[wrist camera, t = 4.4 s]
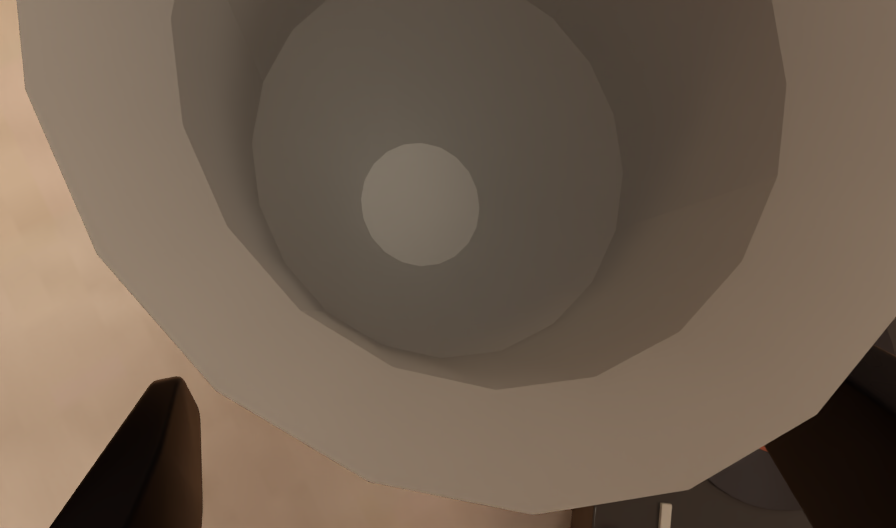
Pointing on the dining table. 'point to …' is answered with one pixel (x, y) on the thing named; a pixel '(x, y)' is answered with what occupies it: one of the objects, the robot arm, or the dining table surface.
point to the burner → (766, 472)
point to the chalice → (492, 220)
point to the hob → (691, 507)
